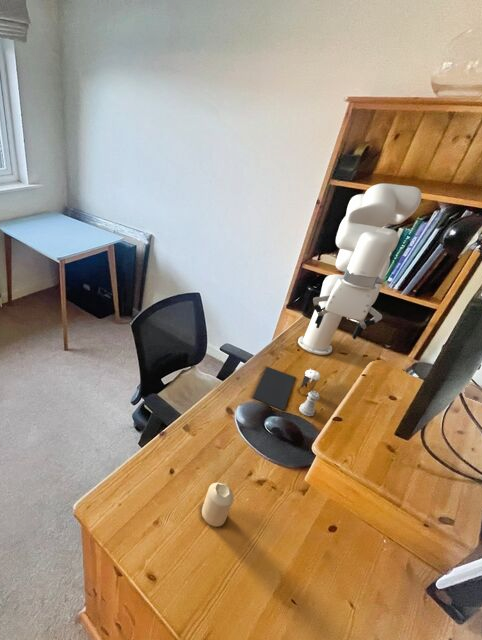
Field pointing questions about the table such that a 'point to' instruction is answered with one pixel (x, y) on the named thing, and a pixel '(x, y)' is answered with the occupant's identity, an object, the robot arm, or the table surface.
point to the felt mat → (274, 388)
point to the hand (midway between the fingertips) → (335, 331)
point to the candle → (217, 504)
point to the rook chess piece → (309, 404)
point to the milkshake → (309, 381)
